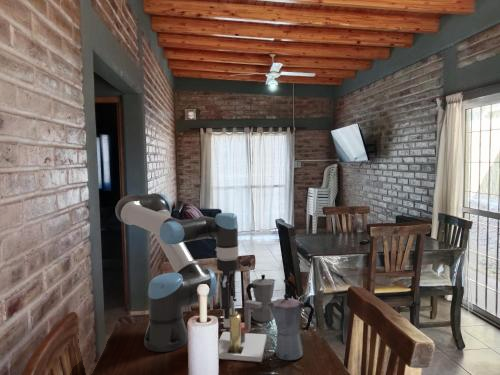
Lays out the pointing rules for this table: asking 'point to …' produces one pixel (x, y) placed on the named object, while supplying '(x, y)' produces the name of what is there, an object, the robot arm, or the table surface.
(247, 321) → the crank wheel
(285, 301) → the moka pot
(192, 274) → the robot arm
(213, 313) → the table surface
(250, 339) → the base
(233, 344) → the hook peg
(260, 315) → the coffeepot
